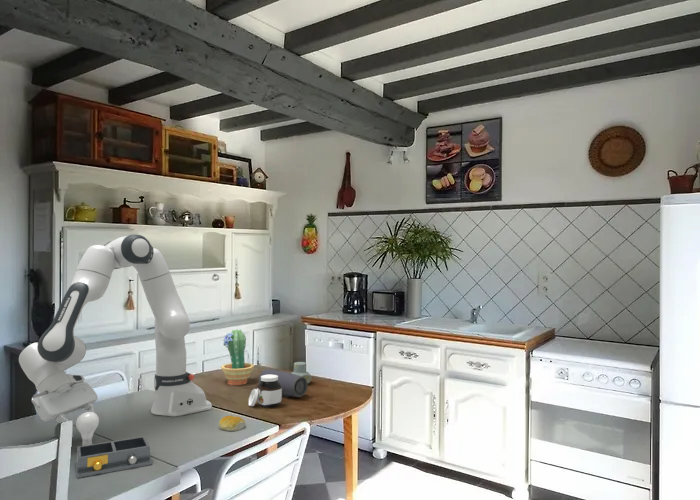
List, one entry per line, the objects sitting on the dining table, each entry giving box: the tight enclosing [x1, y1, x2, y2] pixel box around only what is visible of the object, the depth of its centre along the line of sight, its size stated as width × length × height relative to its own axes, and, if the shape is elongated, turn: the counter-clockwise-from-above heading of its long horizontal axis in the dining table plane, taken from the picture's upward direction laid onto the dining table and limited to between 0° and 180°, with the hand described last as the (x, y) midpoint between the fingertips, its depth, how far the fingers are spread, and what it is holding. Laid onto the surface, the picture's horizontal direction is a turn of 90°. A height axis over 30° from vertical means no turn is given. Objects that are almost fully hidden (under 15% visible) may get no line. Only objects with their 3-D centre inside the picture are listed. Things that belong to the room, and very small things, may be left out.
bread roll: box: [218, 415, 246, 432], centre depth 178 cm, size 8×9×4 cm
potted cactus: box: [221, 329, 255, 386], centre depth 241 cm, size 15×15×25 cm
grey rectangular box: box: [75, 435, 153, 479], centre depth 146 cm, size 19×12×4 cm, turn 120°
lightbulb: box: [75, 411, 100, 446], centre depth 157 cm, size 6×6×11 cm
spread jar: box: [248, 374, 283, 409], centre depth 204 cm, size 12×11×12 cm
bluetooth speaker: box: [258, 368, 309, 398], centre depth 221 cm, size 23×9×10 cm, turn 50°
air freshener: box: [291, 361, 312, 384], centre depth 239 cm, size 11×8×10 cm
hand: (82, 421), depth 158 cm, fingers open, 8 cm apart
